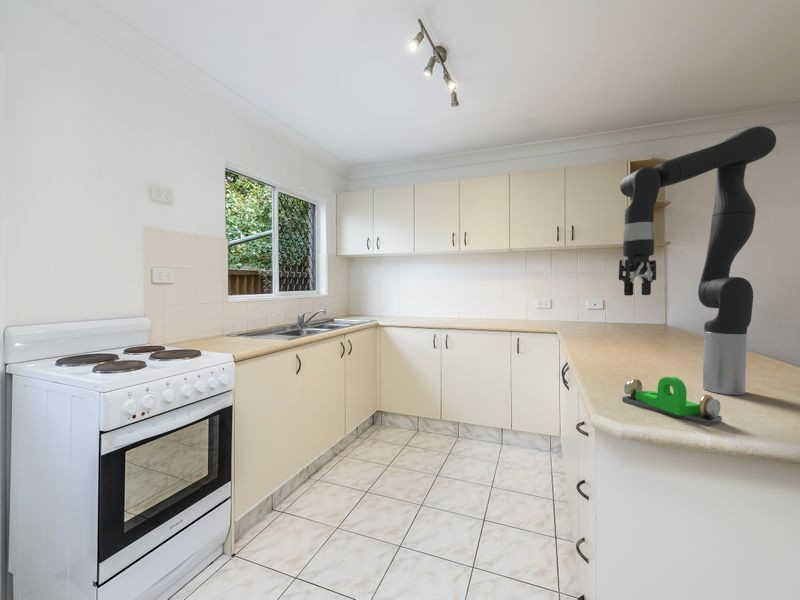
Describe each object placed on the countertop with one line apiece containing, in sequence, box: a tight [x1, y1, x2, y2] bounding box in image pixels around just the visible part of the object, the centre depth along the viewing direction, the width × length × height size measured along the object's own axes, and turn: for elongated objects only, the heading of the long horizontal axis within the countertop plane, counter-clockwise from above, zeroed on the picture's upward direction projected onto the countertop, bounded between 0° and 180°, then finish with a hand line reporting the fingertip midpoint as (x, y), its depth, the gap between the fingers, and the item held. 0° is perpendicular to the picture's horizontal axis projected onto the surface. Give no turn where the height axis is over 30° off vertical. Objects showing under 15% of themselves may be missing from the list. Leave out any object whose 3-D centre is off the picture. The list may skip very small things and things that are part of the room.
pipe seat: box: [621, 378, 723, 427], centre depth 88 cm, size 6×19×6 cm, turn 26°
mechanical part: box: [635, 376, 700, 415], centre depth 88 cm, size 12×6×8 cm, turn 10°
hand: (637, 295), depth 104 cm, fingers open, 8 cm apart
